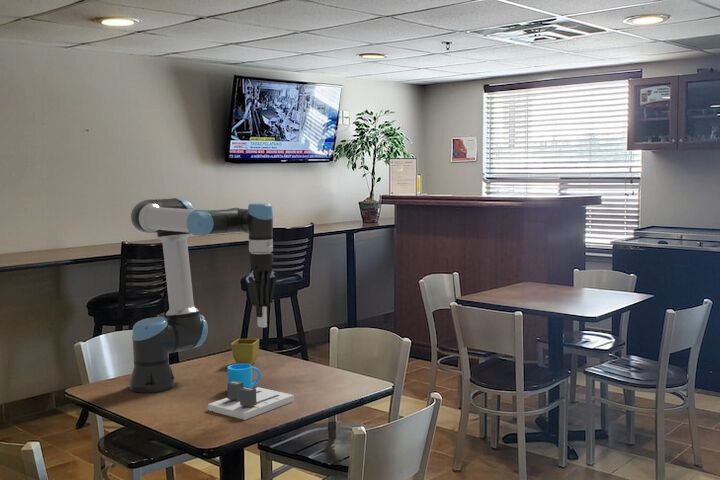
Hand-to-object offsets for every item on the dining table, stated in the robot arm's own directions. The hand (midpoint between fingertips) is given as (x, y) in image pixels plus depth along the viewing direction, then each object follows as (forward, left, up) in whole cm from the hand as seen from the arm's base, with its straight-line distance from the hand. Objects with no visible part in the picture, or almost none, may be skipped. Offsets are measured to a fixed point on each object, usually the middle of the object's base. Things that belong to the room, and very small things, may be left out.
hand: (262, 326), depth 235 cm
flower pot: (-40, +31, -25) cm, 56 cm away
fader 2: (+3, -10, -23) cm, 25 cm away
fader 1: (-5, -8, -23) cm, 24 cm away
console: (-1, -5, -25) cm, 25 cm away
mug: (-16, +7, -25) cm, 30 cm away
